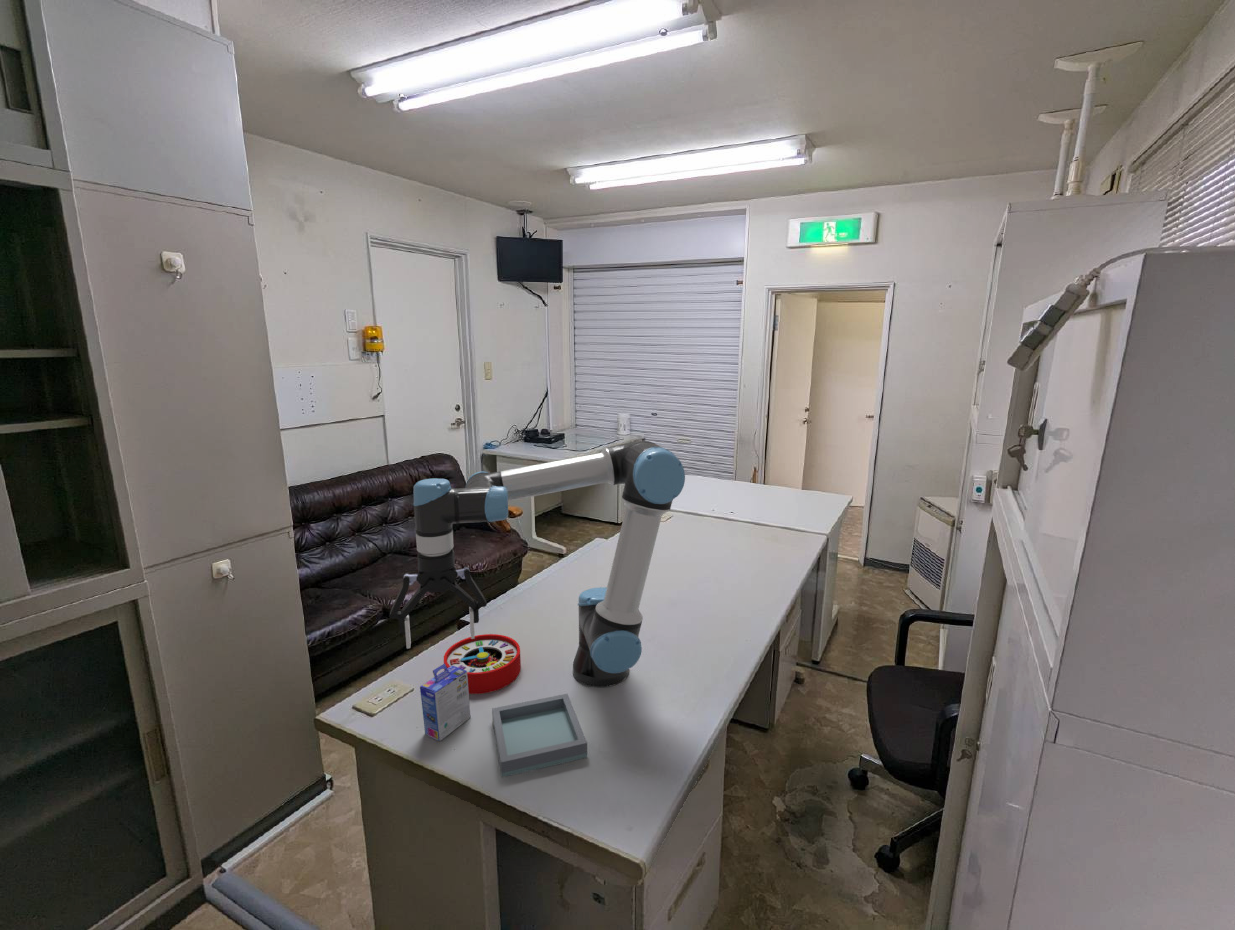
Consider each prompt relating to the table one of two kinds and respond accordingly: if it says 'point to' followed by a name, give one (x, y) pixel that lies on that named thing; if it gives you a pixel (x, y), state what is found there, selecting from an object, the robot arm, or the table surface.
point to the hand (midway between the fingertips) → (441, 640)
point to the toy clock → (486, 661)
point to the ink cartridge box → (445, 701)
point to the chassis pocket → (537, 734)
